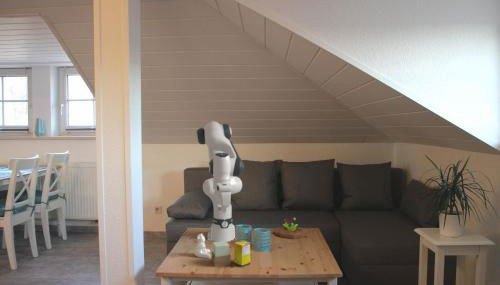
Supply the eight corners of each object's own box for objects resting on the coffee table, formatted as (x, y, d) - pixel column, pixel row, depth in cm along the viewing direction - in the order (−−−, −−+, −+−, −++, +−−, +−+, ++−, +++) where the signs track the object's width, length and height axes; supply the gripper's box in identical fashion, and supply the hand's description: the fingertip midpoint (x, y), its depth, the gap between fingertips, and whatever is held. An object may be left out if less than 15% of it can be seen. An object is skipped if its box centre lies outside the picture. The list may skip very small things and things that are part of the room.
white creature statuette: (210, 258, 188) (210, 236, 187) (193, 259, 187) (194, 236, 186) (210, 252, 197) (210, 230, 197) (194, 253, 196) (194, 231, 196)
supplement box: (242, 260, 185) (242, 239, 185) (250, 264, 181) (250, 242, 181) (233, 263, 181) (233, 242, 181) (241, 267, 177) (242, 245, 176)
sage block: (212, 251, 184) (212, 242, 184) (226, 250, 186) (226, 241, 186) (215, 256, 178) (215, 246, 177) (229, 255, 180) (229, 245, 179)
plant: (297, 240, 221) (297, 222, 221) (270, 234, 232) (270, 217, 232) (311, 232, 238) (311, 216, 237) (285, 228, 249) (285, 211, 248)
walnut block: (211, 261, 185) (211, 251, 184) (226, 259, 187) (226, 250, 187) (214, 267, 177) (214, 257, 177) (230, 265, 179) (230, 255, 179)
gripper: (211, 182, 189) (211, 208, 190) (220, 188, 170) (219, 217, 170) (223, 181, 191) (223, 207, 192) (232, 188, 172) (232, 216, 172)
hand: (221, 212), depth 181 cm, fingers open, 7 cm apart
